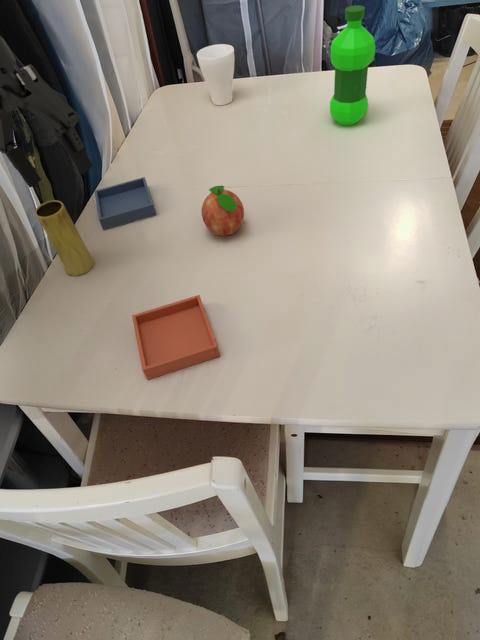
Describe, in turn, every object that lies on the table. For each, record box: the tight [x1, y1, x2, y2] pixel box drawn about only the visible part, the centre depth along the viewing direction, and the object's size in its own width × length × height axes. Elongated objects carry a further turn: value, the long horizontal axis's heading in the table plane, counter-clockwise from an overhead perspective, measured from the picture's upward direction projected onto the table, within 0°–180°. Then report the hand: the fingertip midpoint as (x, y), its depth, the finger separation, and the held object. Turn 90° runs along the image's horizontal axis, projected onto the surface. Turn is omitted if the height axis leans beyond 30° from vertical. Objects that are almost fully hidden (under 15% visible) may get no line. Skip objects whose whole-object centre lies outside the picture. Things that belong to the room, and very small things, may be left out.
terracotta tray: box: [131, 294, 221, 380], centre depth 74 cm, size 12×12×3 cm
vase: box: [34, 199, 95, 277], centre depth 86 cm, size 6×6×14 cm
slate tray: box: [94, 176, 157, 231], centre depth 101 cm, size 12×12×3 cm
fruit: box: [201, 185, 245, 237], centre depth 89 cm, size 9×10×10 cm
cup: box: [196, 43, 236, 106], centre depth 127 cm, size 10×10×14 cm
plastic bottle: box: [329, 5, 376, 127], centre depth 106 cm, size 10×10×25 cm
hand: (60, 177), depth 78 cm, fingers open, 13 cm apart
